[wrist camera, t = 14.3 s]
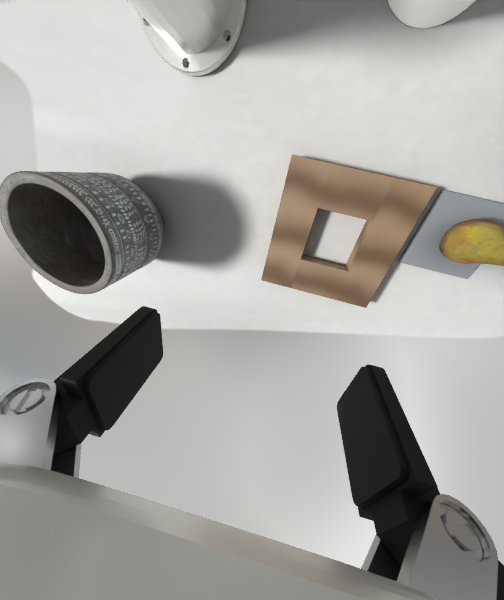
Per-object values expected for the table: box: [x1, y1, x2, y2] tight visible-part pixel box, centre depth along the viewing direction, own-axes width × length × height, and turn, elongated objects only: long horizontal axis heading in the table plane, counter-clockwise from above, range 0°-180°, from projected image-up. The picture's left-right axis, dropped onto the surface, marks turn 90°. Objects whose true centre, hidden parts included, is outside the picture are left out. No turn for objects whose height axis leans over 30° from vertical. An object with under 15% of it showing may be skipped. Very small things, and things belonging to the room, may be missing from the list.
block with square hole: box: [261, 155, 437, 308], centre depth 32 cm, size 18×18×2 cm
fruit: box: [439, 219, 504, 266], centre depth 24 cm, size 6×6×12 cm
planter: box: [0, 171, 164, 294], centre depth 31 cm, size 14×14×15 cm
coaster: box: [399, 190, 504, 279], centre depth 29 cm, size 10×10×1 cm
